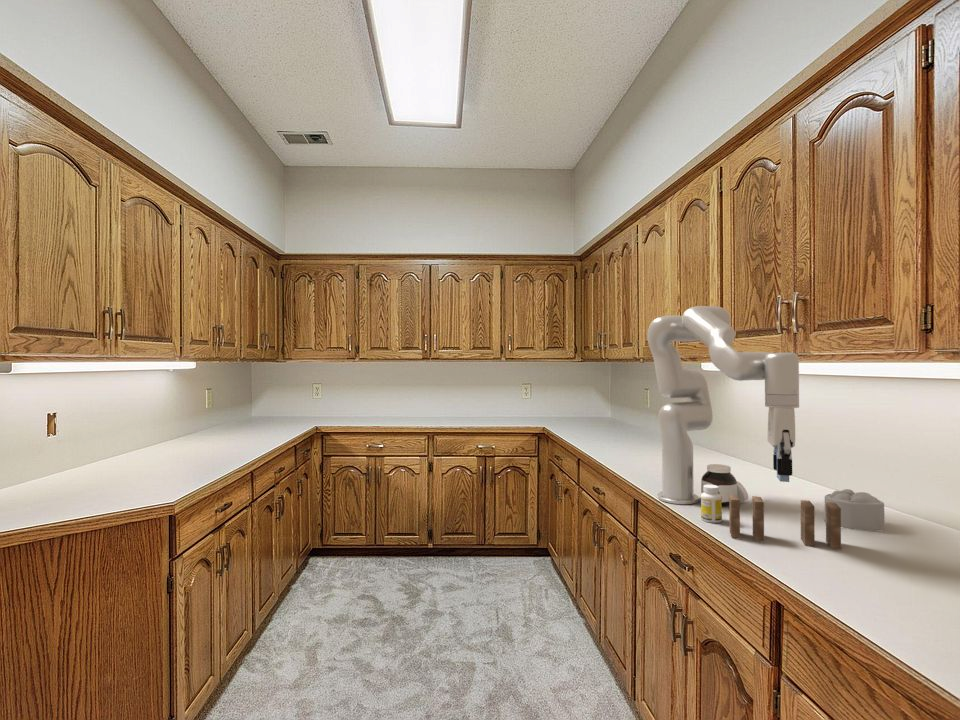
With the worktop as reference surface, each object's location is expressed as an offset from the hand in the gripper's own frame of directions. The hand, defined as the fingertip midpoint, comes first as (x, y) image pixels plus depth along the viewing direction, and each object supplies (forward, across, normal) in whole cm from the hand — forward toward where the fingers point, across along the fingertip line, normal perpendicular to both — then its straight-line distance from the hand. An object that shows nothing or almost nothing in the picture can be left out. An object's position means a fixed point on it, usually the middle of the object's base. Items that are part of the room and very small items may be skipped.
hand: (782, 471), depth 132 cm
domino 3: (+18, 0, +5) cm, 18 cm away
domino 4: (+18, 0, +11) cm, 21 cm away
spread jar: (+18, -31, -11) cm, 38 cm away
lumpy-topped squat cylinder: (+18, -20, +20) cm, 33 cm away
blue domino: (+2, 0, 0) cm, 2 cm away
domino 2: (+18, 0, -6) cm, 18 cm away
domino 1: (+18, 0, -11) cm, 21 cm away
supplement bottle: (+18, -11, -16) cm, 26 cm away
